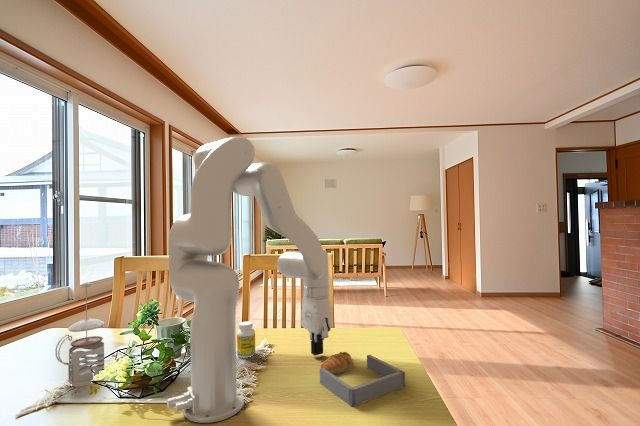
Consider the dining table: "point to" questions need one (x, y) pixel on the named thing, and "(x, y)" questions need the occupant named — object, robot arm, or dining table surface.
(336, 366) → the pastry
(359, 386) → the gray u-shaped fence
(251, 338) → the supplement bottle
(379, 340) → the dining table surface
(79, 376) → the french press
